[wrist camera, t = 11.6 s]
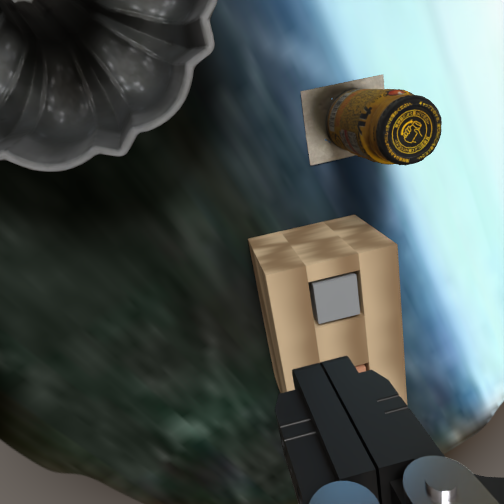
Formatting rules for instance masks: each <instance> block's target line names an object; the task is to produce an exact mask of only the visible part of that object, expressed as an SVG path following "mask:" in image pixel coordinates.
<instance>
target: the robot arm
mask: <svg viewBox="0 0 504 504" xmlns="http://www.w3.org/2000/svg"><path fill="white" fill-rule="evenodd" d="M292 376H293V382H294V387H295V390H292V391H288V392H284V393H280V394H278V399H277V403H276V407H275V412H276V417H277V422H278V427H279V432H280V437H281V442H282V447H283V452H284V456H285V459H286V463H287V466H288V469H289V472H290V476H291V479H292V483H293V486H294V489H295V493H296V496H297V499H298V503H299V504H504V478H496V477H484V476H479V475H475V474H473V473H472V472H471V471H470V470H469V469H468V468H466V467H465V466H463V465H462V464H461V463H459V462H457V461H455V460H452V459H450V458H446V457H445V456H444V455H443V453H442V452H441V451H440V449H439V448H438V447H437V445H436V444H435V443H434V441H433V440H432V439H431V437H430V436H429V434H428V433H427V432H426V430H425V429H424V428H423V426H422V425H421V424H420V422H419V421H418V419H417V418H416V417H415V415H414V414H413V413H412V411H411V410H410V409H408V407H407V404H406V403H405V402H404V400H403V399H402V398H401V397H400V396H399V394H398V392H397V391H396V390H395V388H394V387H393V385H392V384H391V383H390V381H389V380H388V379H386V378H385V377H383V376H381V375H380V374H378V373H377V372H375V371H373V370H368V371H364V372H361V373H359V372H358V371H357V369H356V368H355V366H354V365H353V363H352V361H351V360H350V358H349V357H348V356H343V357H339V358H335V359H331V360H327V361H323V362H320V364H319V363H316V364H312V365H308V366H304V367H300V368H296V369H292Z"/></svg>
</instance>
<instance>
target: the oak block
mask: <svg viewBox="0 0 504 504" xmlns="http://www.w3.org/2000/svg"><path fill="white" fill-rule="evenodd" d="M248 242H249V248H250V253H251V258H252V263H253V268H254V273H255V278H256V283H257V289H258V294H259V299H260V304H261V309H262V314H263V319H264V324H265V330H266V335H267V340H268V345H269V350H270V355H271V360H272V365H273V371H274V376H275V379H276V381H277V384H278V387H279V390H280V393H284V392H288V391H292V390H295V387H294V382H293V376H292V369H296V368H300V367H304V366H308V365H312V364H316V363H319V364H320V362H323V361H327V360H331V359H335V358H339V357H343V356H348V357H349V358H350V360H351V361H352V363H353V365H354V366H357V365H361V364H364V365H365V367H366V371H368V370H373V371H375V372H377V373H378V374H380V375H381V376H383V377H385V378H386V379H388V380H389V381H390V383H391V384H392V385H393V387H394V388H395V390H396V391H397V392H398V394H399V396H400V397H401V398H402V399H403V400H404V402H405V403H406V404H407V394H406V377H405V361H404V345H403V329H402V312H401V296H400V280H399V264H398V248H397V244H396V243H395V242H393V241H392V240H390V239H389V238H387V237H386V236H385V235H383V234H382V233H380V232H379V231H377V230H376V229H375V228H373V227H372V226H370V225H369V224H367V223H366V222H365V221H363V220H362V219H360V218H359V217H357V216H356V215H351V216H346V217H342V218H337V219H333V220H329V221H324V222H320V223H315V224H311V225H307V226H302V227H298V228H293V229H289V230H285V231H280V232H276V233H271V234H267V235H262V236H258V237H254V238H249V239H248ZM349 272H354V273H355V274H356V276H357V286H358V296H359V306H360V314H358V315H354V316H350V317H346V318H342V319H338V320H333V321H329V322H325V323H321V324H318V322H317V320H316V319H315V317H314V316H313V312H312V305H311V298H310V291H309V284H308V282H312V281H316V280H320V279H324V278H328V277H333V276H337V275H341V274H345V273H349Z"/></svg>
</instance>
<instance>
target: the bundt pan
mask: <svg viewBox="0 0 504 504" xmlns="http://www.w3.org/2000/svg"><path fill="white" fill-rule="evenodd" d="M217 1H218V0H0V161H1V160H7V161H9V162H12V163H14V164H17V165H19V166H22V167H25V168H28V169H31V170H36V171H43V172H58V171H65V170H68V169H72V168H75V167H77V166H79V165H82V164H83V163H85V162H86V161H88V160H90V159H91V158H93V157H94V156H95V155H97V154H104V155H110V156H118V157H120V156H124V155H126V154H127V153H128V151H129V150H130V148H131V146H132V144H133V142H134V140H135V139H136V137H137V135H138V134H139V133H141V132H146V131H149V130H152V129H154V128H157V127H159V126H161V125H162V124H164V123H165V122H167V121H168V120H169V119H171V118H172V117H173V116H174V115H175V114H176V113H177V111H178V110H179V109H180V108H181V106H182V105H183V103H184V101H185V100H186V98H187V95H188V93H189V90H190V87H191V83H192V79H193V72H194V69H195V67H196V65H197V64H199V63H200V62H201V61H202V60H203V59H204V58H206V57H207V56H208V55H210V54H211V52H212V51H213V49H214V45H215V43H214V38H213V33H212V29H211V24H210V18H211V16H212V13H213V11H214V8H215V6H216V4H217Z"/></svg>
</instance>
